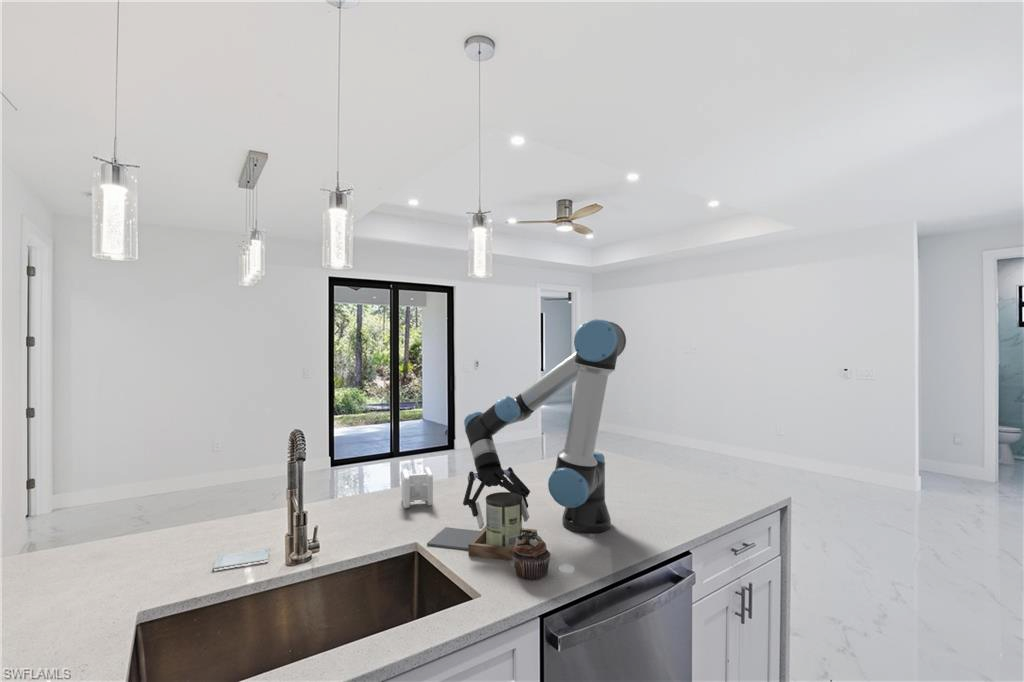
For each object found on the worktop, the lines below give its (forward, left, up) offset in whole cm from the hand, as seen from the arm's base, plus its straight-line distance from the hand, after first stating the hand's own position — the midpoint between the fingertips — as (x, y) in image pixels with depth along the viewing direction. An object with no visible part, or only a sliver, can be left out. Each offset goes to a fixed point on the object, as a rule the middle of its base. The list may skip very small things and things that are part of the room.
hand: (504, 523), depth 134 cm
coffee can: (+1, -1, -7) cm, 8 cm away
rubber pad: (+16, -3, -7) cm, 17 cm away
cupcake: (-10, +12, -8) cm, 17 cm away
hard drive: (+64, +26, -8) cm, 70 cm away
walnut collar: (+1, -1, -7) cm, 7 cm away
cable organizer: (+43, -30, -8) cm, 53 cm away
